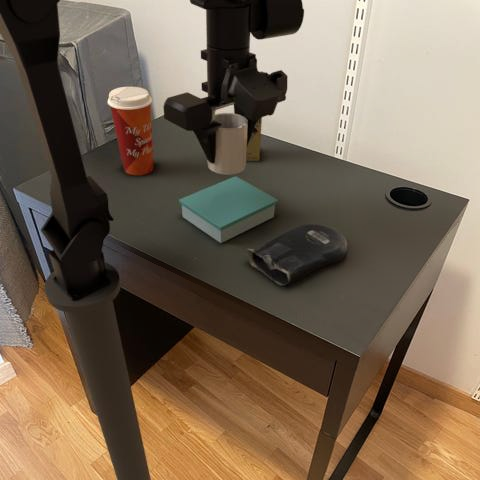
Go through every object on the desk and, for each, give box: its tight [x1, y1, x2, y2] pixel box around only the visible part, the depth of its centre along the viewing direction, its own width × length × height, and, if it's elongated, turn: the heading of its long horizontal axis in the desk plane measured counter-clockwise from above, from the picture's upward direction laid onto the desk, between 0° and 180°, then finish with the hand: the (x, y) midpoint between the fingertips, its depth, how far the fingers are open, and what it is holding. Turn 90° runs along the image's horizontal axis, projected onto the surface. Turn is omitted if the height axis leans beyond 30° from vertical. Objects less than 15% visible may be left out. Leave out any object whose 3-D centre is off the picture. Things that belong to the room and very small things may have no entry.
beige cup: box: [206, 112, 248, 176], centre depth 73 cm, size 6×6×7 cm
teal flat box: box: [178, 175, 279, 244], centre depth 81 cm, size 13×11×3 cm
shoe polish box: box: [233, 112, 263, 162], centre depth 94 cm, size 5×5×12 cm
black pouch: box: [245, 223, 348, 286], centre depth 73 cm, size 9×6×15 cm
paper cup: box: [107, 86, 154, 176], centre depth 88 cm, size 8×8×14 cm
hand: (227, 156), depth 74 cm, fingers closed on beige cup, 6 cm apart
